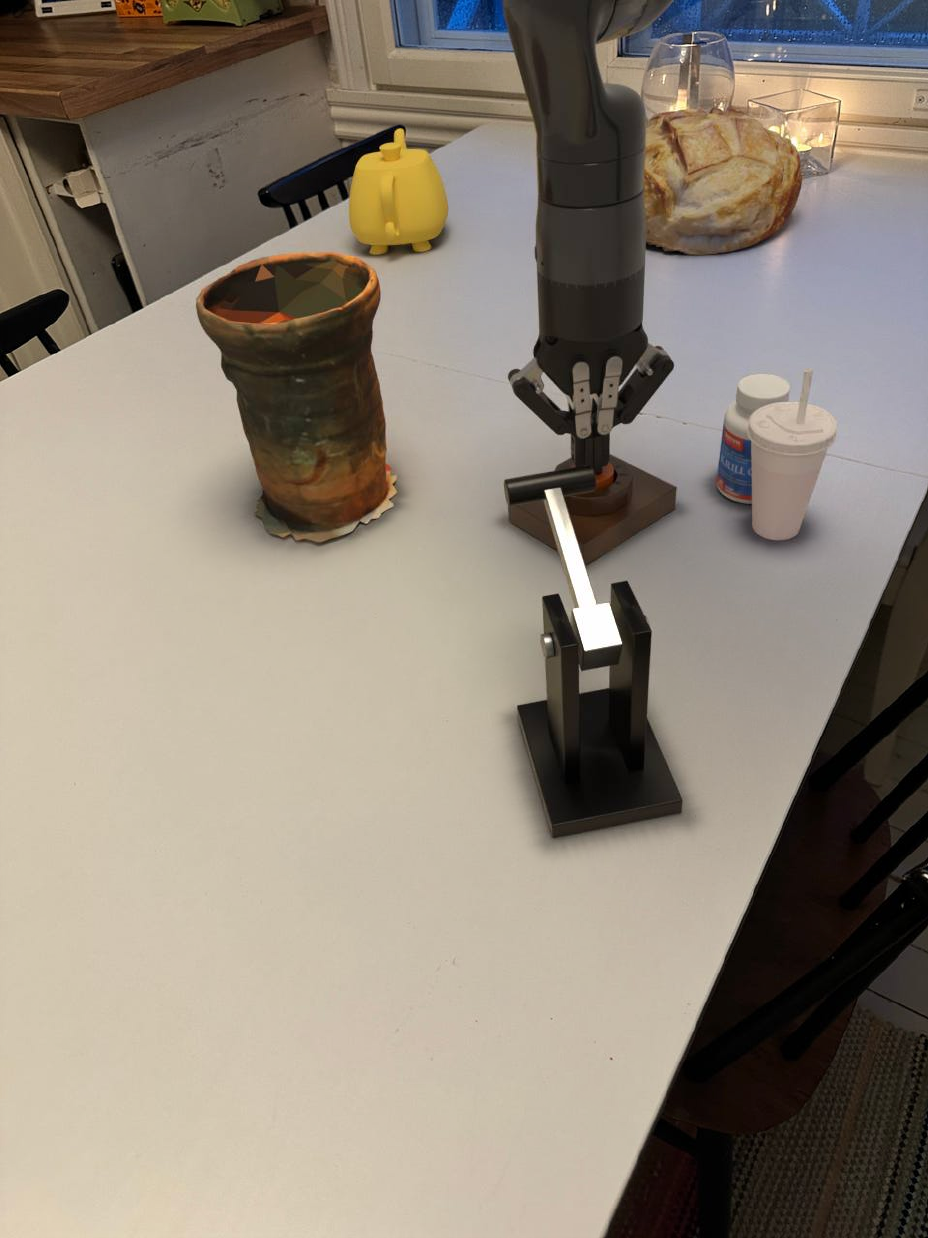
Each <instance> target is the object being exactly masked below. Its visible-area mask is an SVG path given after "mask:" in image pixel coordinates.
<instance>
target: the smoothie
mask: <svg viewBox="0 0 928 1238" xmlns="http://www.w3.org/2000/svg"><path fill="white" fill-rule="evenodd" d="M813 373H814V370H813V369H812V368H805V369H804V373H803V379H802V384H801V385H802V386H801V391H800V396H799V401H788V402H778V403H772V404H769V405H765V406H763V407H761V408H759V409H757V410H756V411H755V412H754V413H753V414H752V415H751V416H750V419H749V425H748V428H747V434H748V437H749V439H750V440H751V461H752V504H751V515H752V516H751V525H752V526H751V527H752V529H753V531H754V532H755V534H757V535H758V536H759V537H762V538H764V539H765V540H769V541H770V540H771V541H786V540H791V539H792V538H794V537H797V535H798V534H799V532H800V530H801V526H802V524H803V521H804V518H805V516H806V512H807V510H808V508H809V504H810V502H811V498H812V495H813V493H814V489H815V487H816V484H817V481H818V478H819V475H820V472H821V470H822V467H823V464H824V462H825V458H826V456H827V454H828V453H827V452H828V449H829V448H830V447H832V445H833V444H834V443H835V441H836V439H837V431H838V422H837V419H836V418H835V417H834V415H832V413H830V412H829V411H827V410H826V409H824V408H822V407H820V406H817V405H814V404H810V403H808V401H809V397H810V392H811V391H810V390H811V385H812V378H813Z"/></svg>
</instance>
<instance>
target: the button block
mask: <svg viewBox="0 0 928 1238" xmlns="http://www.w3.org/2000/svg"><path fill="white" fill-rule="evenodd" d="M609 454H610V453H609ZM609 463H610V464H611V465H612V466H613V468H614V483H613V484H611V485H610V486H608V487H606V488H603V489H597V490H595V491H594V492H589V493H583V494H577V495H572V496H566V497H564V499H565V502H566V505H567V508H568V512H569V515H570V518H571V521H572V524H573V528H574V531H575V534H576V537H577V541H578V544H579V547H580V550H581V553H582V557H583V560H584V563H585V566H587V565H589V564H590V563H592V562H593V561H595V560H597V559H598V558H600V557H601V556H603V555H605V554H607V552H609V551H611V550H612V549H614V548H616V547H617V546H618V545H620V544H621V543H623V542H625V541H626V540H628V539H629V538H631V537H632V536H634V535H636V534H637V533H639V532H641V531H642V530H644V529H645V528H646V527H648V526H650V525H651V524H653V523H654V522H656V521H658V520H659V519H661V518H663V517H664V516H665V515H667V514H668V513H670V512H672V511H673V510H675V509H676V504H677V491H678V487H677V486H676V485H674V484H672V483H670V482H668V481H665V480H663V479H661V478H659V477H657V476H655V475H653V474H651V473H649V472H647V471H645V470H643V469H641V468H639V467H637V466H635V465H633V464H631V463H629V462H627V461H625V460H623V459H621V458H619V457H617V456H615V455H613V454H610V456H609ZM573 464H574V462H573V460H572V458H571V457H569V458H568V459H566V460H564V461H562V462H561V463H559V464H557V465H556V467H555V468H554V469H553V471H556V470H562V469H568V468H571V466H572V465H573ZM507 512H508V522H509V523H511V524H512V525H514V526H516V527H518V528H519V529H521V530H522V531H524V532H526V533H527V534H529V535H531V536H532V537H534V538H536V539H537V540H539V541H540V542H542V543H544V544H545V545H547V546H549V547H550V548H552V549H554V550H555V551H556V552H558V548H557V545H556V541H555V538H554V535H553V531H552V528H551V524H550V521H549V518H548V514H547V511H546V507H545V504H544V501H537V502H532V503H526V504H520V505H514V506H508V505H507Z"/></svg>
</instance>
